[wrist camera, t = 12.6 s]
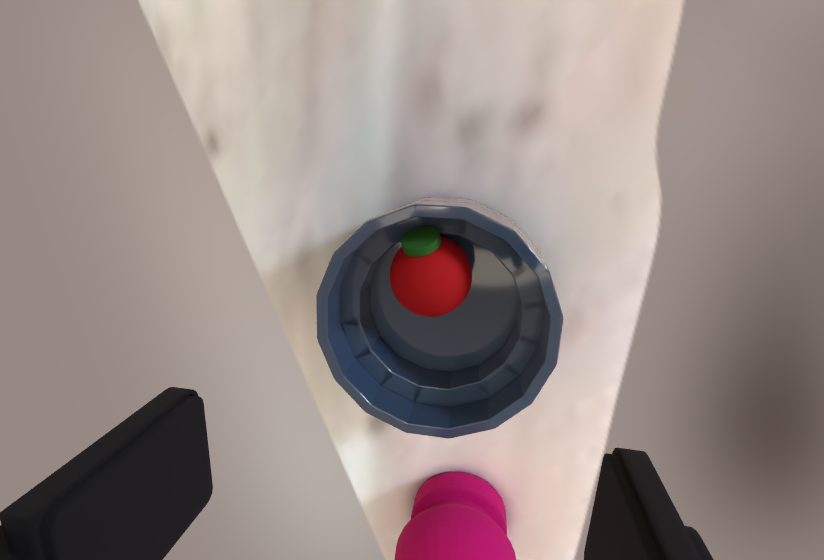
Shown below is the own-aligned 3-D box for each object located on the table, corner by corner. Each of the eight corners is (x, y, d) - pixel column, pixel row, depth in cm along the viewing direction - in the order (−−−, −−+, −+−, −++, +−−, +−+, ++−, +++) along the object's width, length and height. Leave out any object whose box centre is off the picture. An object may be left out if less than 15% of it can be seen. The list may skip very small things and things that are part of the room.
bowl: (346, 192, 26) (314, 198, 21) (560, 203, 24) (578, 213, 19) (346, 378, 29) (318, 421, 24) (535, 401, 27) (545, 451, 22)
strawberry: (413, 279, 27) (392, 214, 24) (483, 279, 26) (471, 210, 23) (391, 332, 24) (365, 265, 21) (470, 336, 22) (453, 264, 20)
